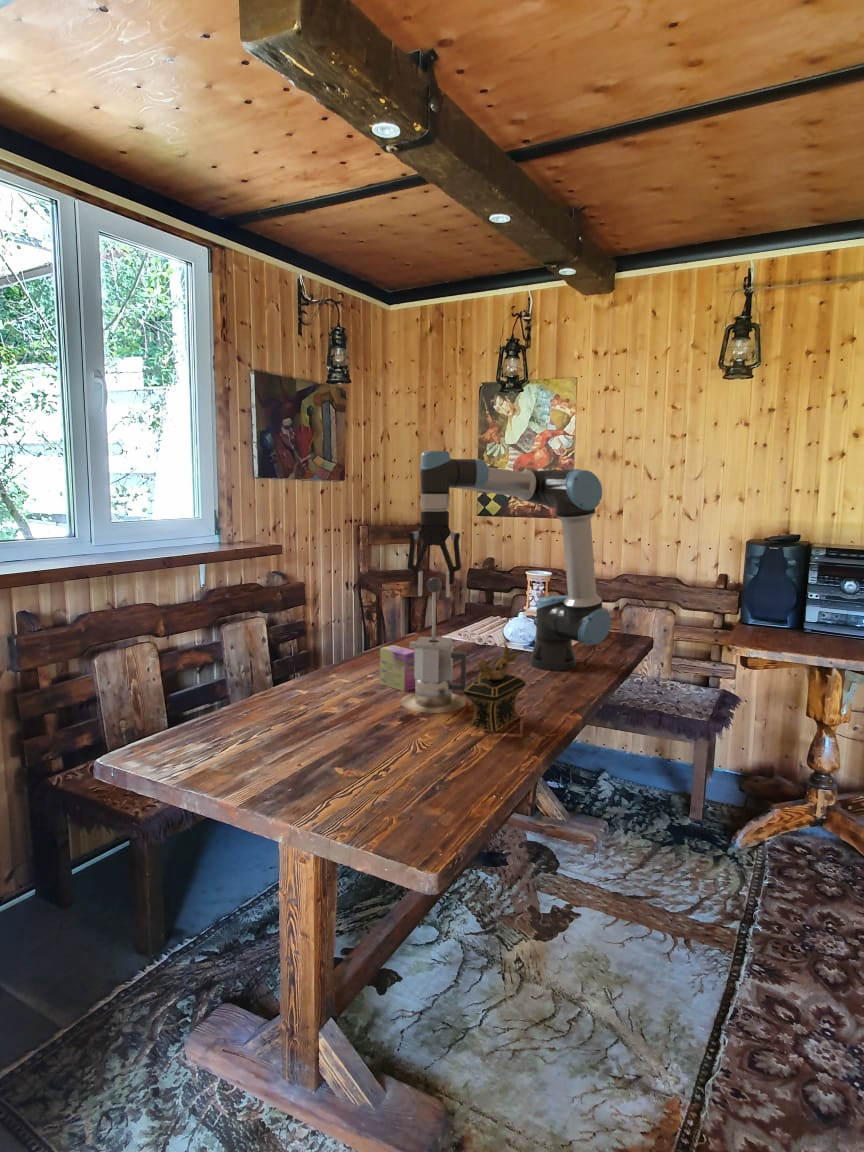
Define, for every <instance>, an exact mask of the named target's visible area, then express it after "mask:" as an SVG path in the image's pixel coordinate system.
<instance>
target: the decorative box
mask: <svg viewBox="0 0 864 1152" xmlns="http://www.w3.org/2000/svg"><path fill="white" fill-rule="evenodd" d="M503 645H504V651H503V654H502V656H498V657H496V658H494V659H492V661H491V662H489V663H488V664H487V663H486V662H487V661H486V660H484V659H480V660H478V662H477V667H478V670H479V674H478V678H477V680H475V681H473V682H471V683H470V684H469V685H467V686H466V688H465V689H464V690H463V694H464V697H466V698H467V699H468V700H469V701H470V702H471V703H472V705H473V710H474V711H473V716H472V719H471V720H470V721H469V726H471V727H473V728H477V729H482V732H483V733H487V734H492V735H494V734H495V735H496V734H498V733H500V732H499V731H500V730H501V729H503V728H504V727H505V726H508V725H509V724H510V723H512V722H514V721H516V720H518V719H519V718H520V717H519V715H518V712H517V710H516V705H515V704H516V699H517V697H518V694H520V692H521V691H522V690H523V689H524V688H525V687H526V684H527V683H526V680H524V679H523V678H521V677H519V676H518V675H515V674H509V673H507V672H508V670H509V663H512V662H515V661H516V660H517V658H518V657H519V656H520V654H521V653H520V652H521V651H520V652H519V651H517V652H515V653H512V654H511V650H510V648H509V647H508V645H507V644H506V643H505V642H504V644H503ZM495 662H496V664H495ZM494 664H495V666H494V669H492V668H491V667H492V666H493V665H494ZM484 730H486V731H484Z"/></svg>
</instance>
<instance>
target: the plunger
mask: <svg viewBox="0 0 864 1152" xmlns="http://www.w3.org/2000/svg"><path fill="white" fill-rule="evenodd" d="M442 586H443V585H442V581H441V580H440V578H439V577H431V578H429V579H428V580H427V582H426V588H427V590H428V591H429V592H430V593H432V595H431V596H432V598H431V599H432V600H431V601H432V602H431V605H432V606H431V608H432V609H431V611H432V612H431V637H432V640H436V636H437V635H436V634H437V632H436V630H437V629H436V627H437V625H436V624H437V592H439V591H440V590H441V589H442Z"/></svg>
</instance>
